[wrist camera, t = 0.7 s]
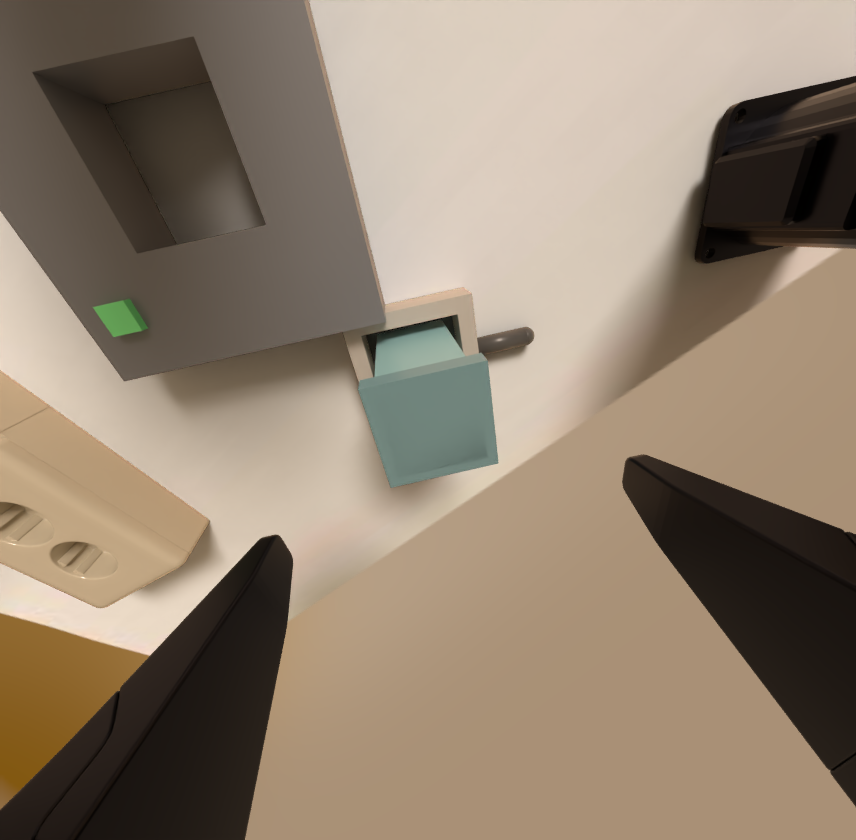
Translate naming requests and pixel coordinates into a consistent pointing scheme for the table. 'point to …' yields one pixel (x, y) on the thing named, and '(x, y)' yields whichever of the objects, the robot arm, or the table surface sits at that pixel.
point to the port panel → (132, 202)
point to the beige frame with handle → (432, 308)
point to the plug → (429, 405)
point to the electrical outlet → (82, 507)
